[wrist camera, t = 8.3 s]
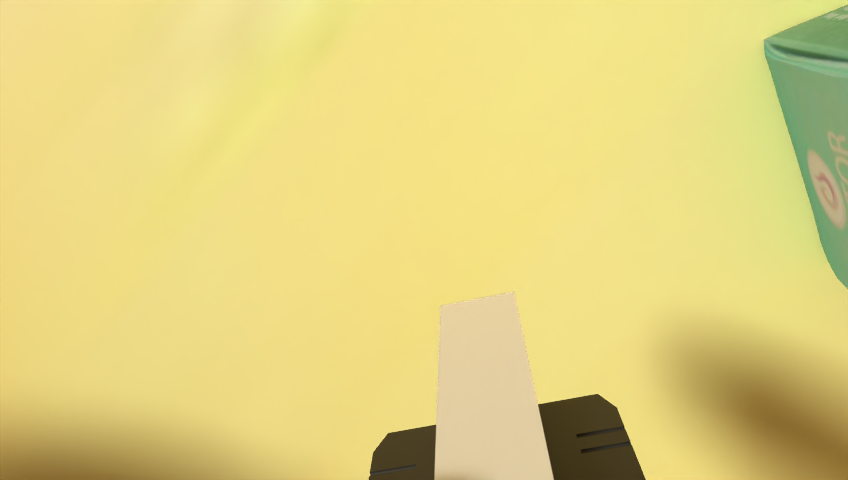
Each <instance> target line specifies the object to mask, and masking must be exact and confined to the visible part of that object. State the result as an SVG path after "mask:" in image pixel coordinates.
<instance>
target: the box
mask: <svg viewBox="0 0 848 480" xmlns="http://www.w3.org/2000/svg"><path fill="white" fill-rule="evenodd" d="M764 50H765V56H766V59H767V62H768V65H769V68H770V71H771V74H772V78H773V81H774V85H775V88H776V92H777V95H778V98H779V102H780V105H781V108H782V111H783V115H784V118H785V121H786V124H787V127H788V131H789V134H790V137H791V140H792V144H793V147H794V150H795V153H796V156H797V160H798V163H799V166H800V170H801V173H802V176H803V180H804V183H805V186H806V190H807V193H808V196H809V200H810V203H811V206H812V210H813V213H814V217H815V221H816V225H817V229H818V232H819V236H820V240H821V244H822V247H823V249H824V252H825V254H826V257H827V259H828V261H829V264H830V266H831V268H832V269H833V271H834V273H835V275H836V276H837V278H838V279H839V280H840V281H841V282H842V283H843V284H844V285H845V286H846V287H847V288H848V5H846V6H844V7H841V8H839V9H836V10H834V11H831V12H829V13H826V14H824V15H821V16H819V17H816V18H814V19H811V20H809V21H807V22H804V23H802V24H799V25H797V26H794V27H792V28H789V29H787V30H785V31H782V32H780V33H778V34H775V35H773V36H771V37H769V38H766V39H764Z"/></svg>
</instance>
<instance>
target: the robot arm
mask: <svg viewBox="0 0 848 480" xmlns="http://www.w3.org/2000/svg"><path fill="white" fill-rule="evenodd" d="M370 475H371V476H369V480H646V479H645V477H644V474H643V472H642V469H641V467H640V464H639V462H638V459H637V457H636V454H635V452H634V450H633V447H632V445H631V443H630V440H629V437H628V435H627V432H626V430H625V428H624V425H623V422H622V420H621V417H620V415H619V412H618V410H617V407H615V406H614V405H612V404H611V403H610V402H608V401H607V400H605V399H604V398H603V397H601V396H600V395H598V394H595V395H589V396H583V397H578V398H572V399H566V400H561V401H555V402H549V403H544V404H538V403H537V398H536V393H535V388H534V384H533V379H532V374H531V369H530V365H529V360H528V355H527V351H526V346H525V341H524V336H523V332H522V327H521V322H520V317H519V313H518V308H517V303H516V299H515V294H514V292H509V293H504V294H499V295H494V296H488V297H483V298H478V299H473V300H467V301H462V302H457V303H452V304H446V305H441V306H440V331H439V360H438V389H437V418H436V425H432V426H426V427H421V428H415V429H409V430H404V431H398V432H392V433H388V434H387V436H386V437H385V438H384V439H383V441H382V442H381V443H380V445H379V446H378V447H377V448H376V450H375V451H374V452H373V457H372V463H371V469H370Z"/></svg>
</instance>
